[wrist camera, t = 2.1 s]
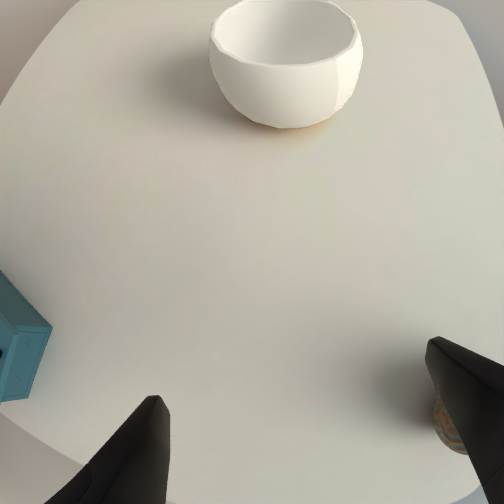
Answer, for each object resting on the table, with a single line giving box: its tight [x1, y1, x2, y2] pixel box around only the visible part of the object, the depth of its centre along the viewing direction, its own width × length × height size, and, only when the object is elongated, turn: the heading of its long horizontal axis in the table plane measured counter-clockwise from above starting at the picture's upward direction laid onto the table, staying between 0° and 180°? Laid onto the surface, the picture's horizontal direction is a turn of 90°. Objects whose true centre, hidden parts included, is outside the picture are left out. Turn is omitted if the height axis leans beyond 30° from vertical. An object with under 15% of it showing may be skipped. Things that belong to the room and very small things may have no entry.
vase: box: [433, 395, 468, 455], centre depth 15 cm, size 7×7×9 cm
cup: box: [208, 0, 363, 129], centre depth 23 cm, size 12×12×10 cm
